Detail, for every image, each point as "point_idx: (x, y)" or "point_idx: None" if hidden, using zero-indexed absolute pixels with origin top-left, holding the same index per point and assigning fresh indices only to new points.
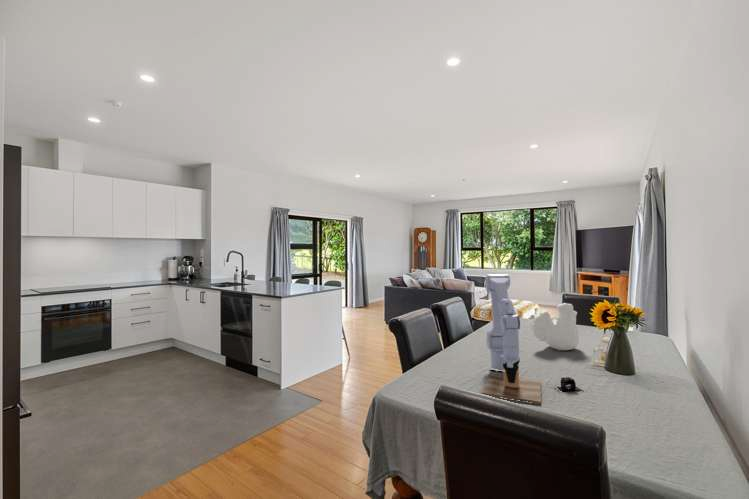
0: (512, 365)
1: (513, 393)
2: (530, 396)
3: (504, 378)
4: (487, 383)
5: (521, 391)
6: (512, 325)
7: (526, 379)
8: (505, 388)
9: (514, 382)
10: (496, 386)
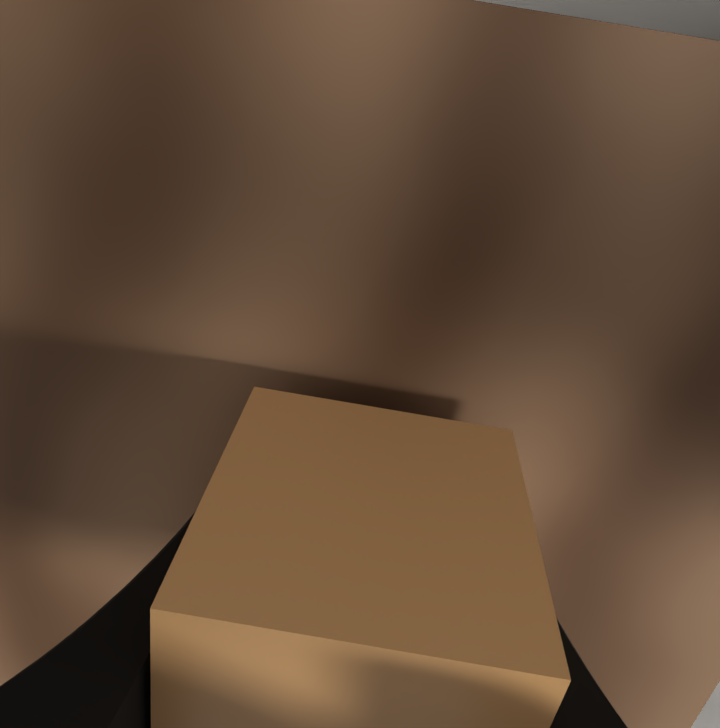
0: None
1: (94, 471)
2: None
3: (209, 487)
4: (439, 43)
5: None
6: None
7: (708, 691)
8: (256, 384)
9: None
10: (303, 238)
